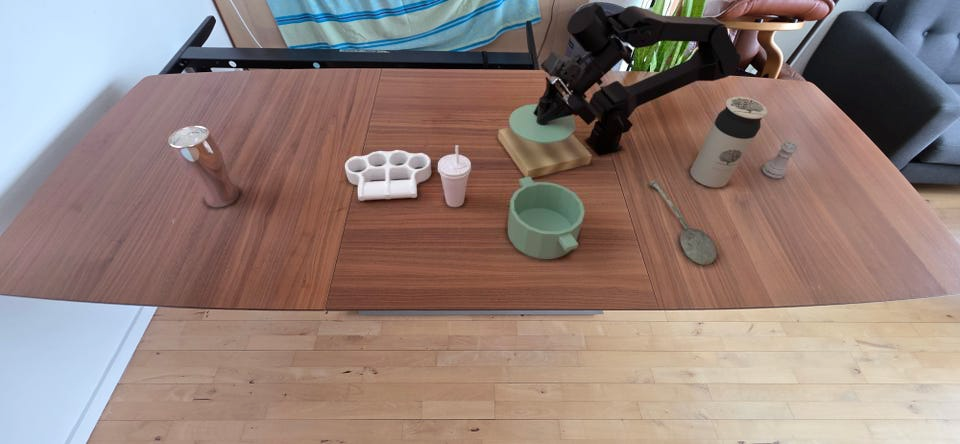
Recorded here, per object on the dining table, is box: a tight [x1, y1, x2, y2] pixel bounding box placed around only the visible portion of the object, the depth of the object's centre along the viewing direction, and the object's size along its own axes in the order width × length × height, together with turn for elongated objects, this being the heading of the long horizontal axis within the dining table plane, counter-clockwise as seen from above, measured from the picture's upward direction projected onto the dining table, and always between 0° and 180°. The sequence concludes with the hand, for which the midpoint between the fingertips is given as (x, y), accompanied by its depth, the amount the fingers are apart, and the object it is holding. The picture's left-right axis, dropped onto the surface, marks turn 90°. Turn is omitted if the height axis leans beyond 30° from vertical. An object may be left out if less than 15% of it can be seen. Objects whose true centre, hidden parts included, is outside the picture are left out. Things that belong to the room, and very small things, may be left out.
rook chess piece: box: [762, 140, 799, 180], centre depth 95 cm, size 4×4×8 cm
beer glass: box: [167, 125, 240, 208], centre depth 82 cm, size 7×7×15 cm
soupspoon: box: [649, 179, 718, 266], centre depth 85 cm, size 22×3×7 cm
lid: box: [508, 95, 577, 144], centre depth 92 cm, size 14×14×7 cm
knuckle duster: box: [344, 149, 432, 202], centre depth 91 cm, size 3×18×15 cm
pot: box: [507, 176, 586, 260], centre depth 81 cm, size 13×19×7 cm
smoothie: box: [437, 144, 472, 208], centre depth 83 cm, size 6×6×14 cm
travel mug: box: [689, 96, 768, 188], centre depth 90 cm, size 8×8×18 cm
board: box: [497, 127, 593, 179], centre depth 100 cm, size 16×16×2 cm
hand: (536, 118), depth 92 cm, fingers closed on lid, 3 cm apart
